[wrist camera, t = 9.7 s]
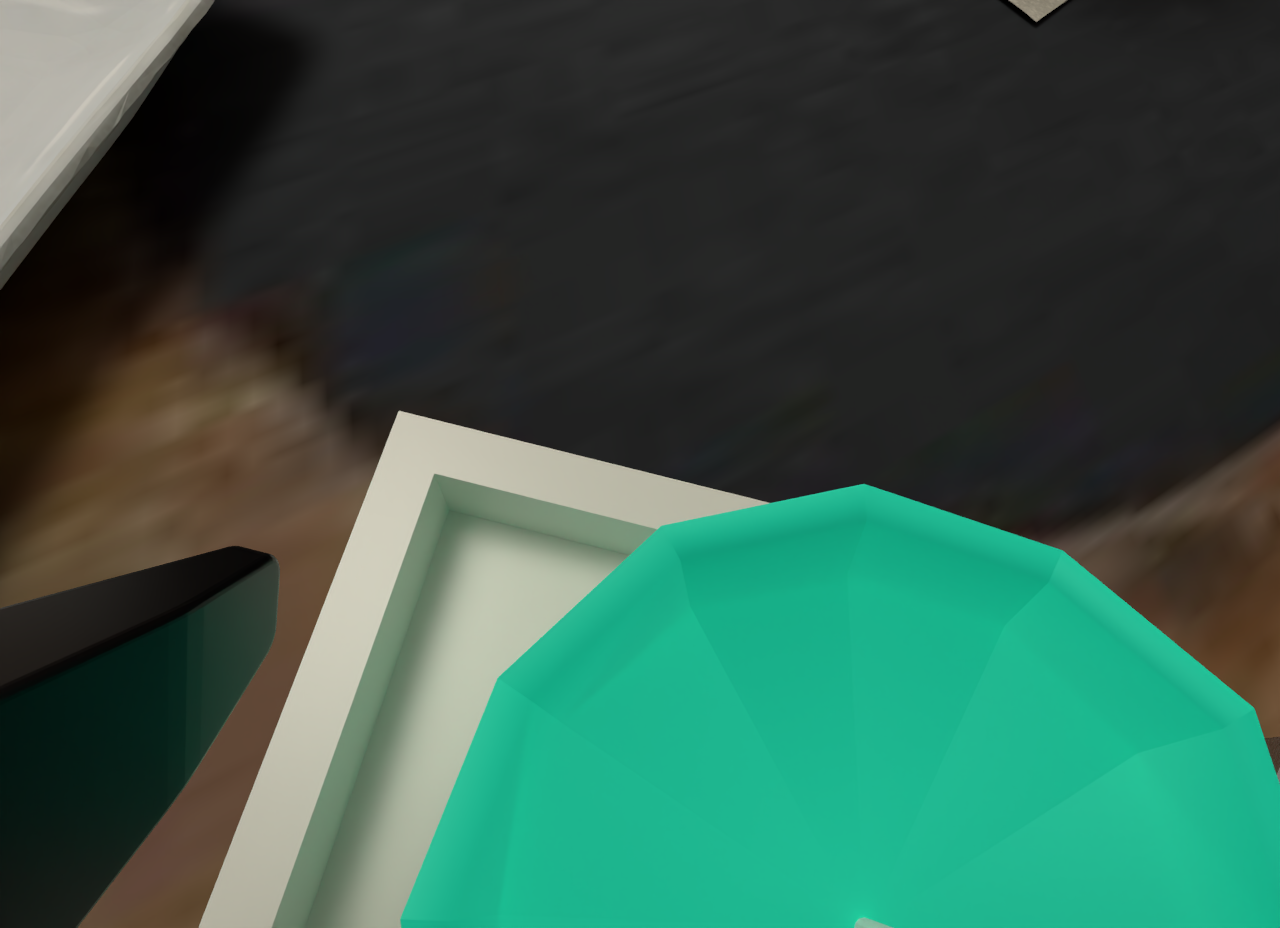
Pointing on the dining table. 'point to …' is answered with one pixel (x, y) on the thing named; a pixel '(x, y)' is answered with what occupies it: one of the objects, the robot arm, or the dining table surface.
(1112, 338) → the dining table surface
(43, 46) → the square plate
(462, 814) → the candle
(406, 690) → the tray
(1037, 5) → the condiment
